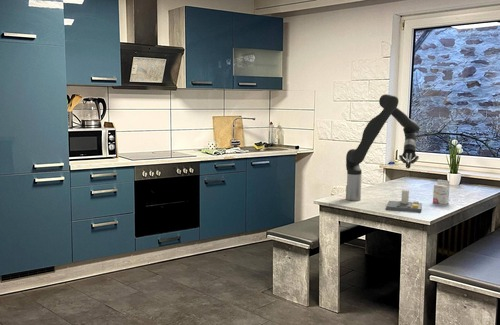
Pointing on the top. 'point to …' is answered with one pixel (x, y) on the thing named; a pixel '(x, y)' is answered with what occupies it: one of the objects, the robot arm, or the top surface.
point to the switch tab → (405, 196)
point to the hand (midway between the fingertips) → (407, 167)
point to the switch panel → (404, 206)
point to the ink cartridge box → (441, 192)
